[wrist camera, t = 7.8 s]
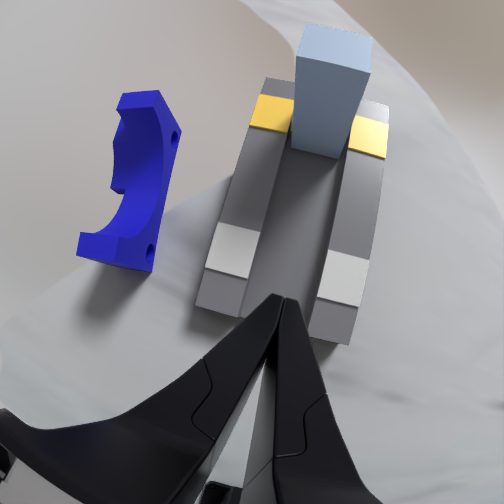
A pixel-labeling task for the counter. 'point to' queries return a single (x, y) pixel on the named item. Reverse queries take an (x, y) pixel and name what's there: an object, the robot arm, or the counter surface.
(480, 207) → the counter surface
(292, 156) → the switch housing
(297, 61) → the tab
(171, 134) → the cable clip
